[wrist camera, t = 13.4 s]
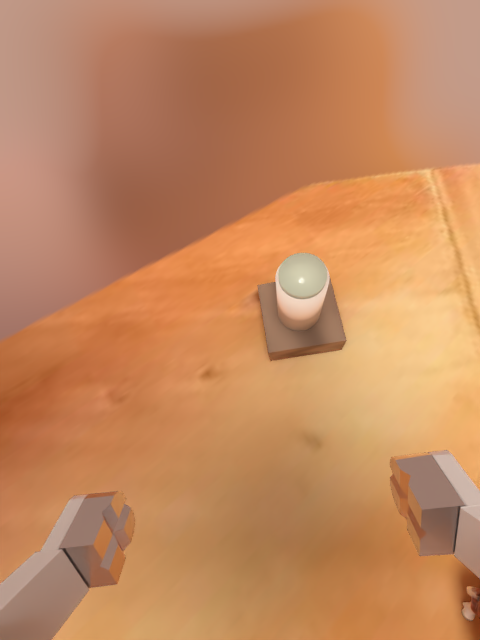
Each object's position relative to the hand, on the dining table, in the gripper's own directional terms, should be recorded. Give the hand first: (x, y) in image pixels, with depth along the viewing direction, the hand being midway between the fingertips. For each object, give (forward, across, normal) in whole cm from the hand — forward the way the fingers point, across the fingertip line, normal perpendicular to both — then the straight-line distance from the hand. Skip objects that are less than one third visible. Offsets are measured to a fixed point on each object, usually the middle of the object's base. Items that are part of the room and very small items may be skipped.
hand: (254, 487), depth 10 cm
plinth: (+32, -5, +10) cm, 33 cm away
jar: (+29, -5, +7) cm, 30 cm away
